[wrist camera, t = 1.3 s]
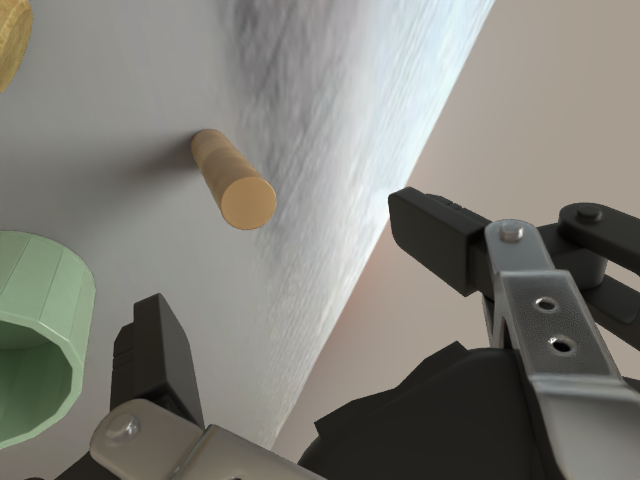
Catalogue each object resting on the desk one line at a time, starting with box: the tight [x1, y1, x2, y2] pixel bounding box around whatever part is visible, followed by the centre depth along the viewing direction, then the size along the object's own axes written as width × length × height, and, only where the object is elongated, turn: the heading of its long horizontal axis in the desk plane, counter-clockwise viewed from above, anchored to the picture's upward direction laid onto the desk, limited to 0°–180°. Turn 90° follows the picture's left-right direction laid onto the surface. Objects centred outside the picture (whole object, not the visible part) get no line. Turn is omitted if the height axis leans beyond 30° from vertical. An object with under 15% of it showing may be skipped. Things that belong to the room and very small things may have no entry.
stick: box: [191, 129, 276, 230], centre depth 20 cm, size 2×2×10 cm
